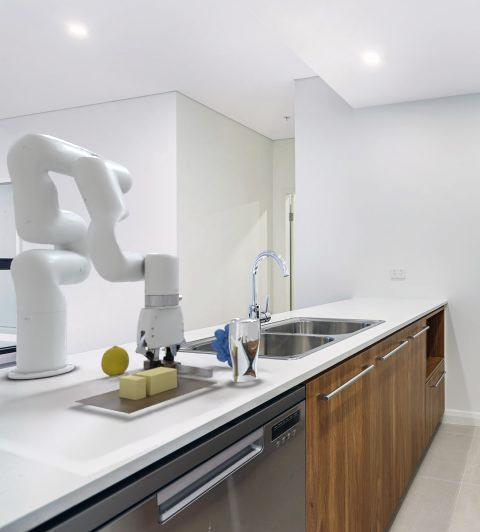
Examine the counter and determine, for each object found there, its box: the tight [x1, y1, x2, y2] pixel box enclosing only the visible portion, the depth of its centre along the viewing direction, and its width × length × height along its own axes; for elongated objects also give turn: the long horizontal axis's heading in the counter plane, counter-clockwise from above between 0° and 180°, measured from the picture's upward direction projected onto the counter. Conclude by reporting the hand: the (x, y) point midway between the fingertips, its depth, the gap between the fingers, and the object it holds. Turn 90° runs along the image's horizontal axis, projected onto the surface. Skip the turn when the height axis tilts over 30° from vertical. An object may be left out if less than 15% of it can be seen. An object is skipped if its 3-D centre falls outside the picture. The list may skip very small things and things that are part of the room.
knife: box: [143, 358, 214, 378], centre depth 99 cm, size 22×3×3 cm, turn 68°
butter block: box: [133, 367, 178, 396], centre depth 84 cm, size 5×6×4 cm
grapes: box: [210, 323, 233, 369], centre depth 106 cm, size 12×7×12 cm, turn 108°
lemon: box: [100, 345, 130, 377], centre depth 97 cm, size 6×6×8 cm
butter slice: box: [119, 374, 146, 400], centre depth 80 cm, size 5×2×4 cm, turn 68°
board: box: [74, 376, 217, 415], centre depth 84 cm, size 16×20×1 cm
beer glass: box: [229, 317, 261, 383], centre depth 93 cm, size 7×7×15 cm
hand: (162, 373), depth 101 cm, fingers closed on knife, 2 cm apart
